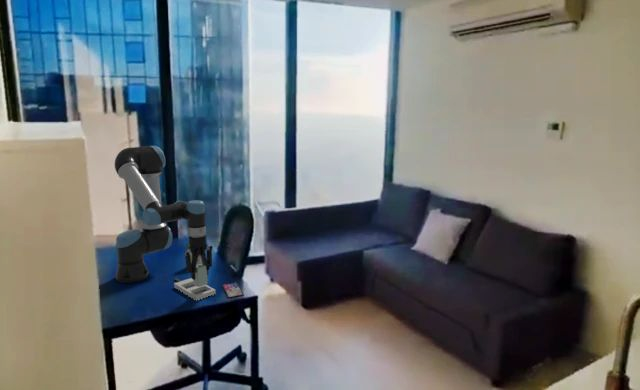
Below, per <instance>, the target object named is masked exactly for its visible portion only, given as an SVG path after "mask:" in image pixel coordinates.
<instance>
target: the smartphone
mask: <svg viewBox="0 0 640 390" xmlns="http://www.w3.org/2000/svg"><path fill="white" fill-rule="evenodd" d="M221 287H222V289H223V291H224V293H225V295H226V298H227V299H232V298H233V299H234V298H237V297H238V298H239V297H243V296H245V295H244V292H243V290H242V289H241V287H240V285H239V283H238V282H231V283H230V282H229V283H225V284H222V285H221Z"/></svg>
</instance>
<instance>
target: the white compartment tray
mask: <svg viewBox="0 0 640 390" xmlns="http://www.w3.org/2000/svg"><path fill="white" fill-rule="evenodd" d="M174 280H175V281H176V282H174V283H173V286H174V288H175V289H176V290H177V289H178V291H179V290H180V291H179V292H181V293H182V292H183V293H182V294H184V295H186V296H187V295H188V296H187V297H189V298H190V297H191V299H192V298H193V299H192V300H193V301H195V300H196V301H195V302H198V301H200V299H201V300H204V299H206V297H207V298H209V297H208V296H210V297H212V296H215V295H216V290H217V289H215V288H213V287H211V286H210V285H208V284H207V285H204V286H201V287H198V286H197V287H196V286H195V285H193V279H192V278H191V277H189V278H188V279H183V280H180V279H179V278H177V277H175V278H174ZM214 294H215V295H214ZM211 295H212V296H211ZM203 298H204V299H203ZM197 300H198V301H197Z"/></svg>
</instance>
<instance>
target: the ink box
mask: <svg viewBox="0 0 640 390" xmlns="http://www.w3.org/2000/svg"><path fill="white" fill-rule="evenodd" d="M189 248H190V244H189V242H186V251H188V250H189ZM190 254H191V255H190V257H191V263H192V253H190ZM198 264H203V263H202V259H201V256H200V255H199V256H198V258H197V265H198Z"/></svg>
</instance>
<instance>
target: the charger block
mask: <svg viewBox="0 0 640 390" xmlns="http://www.w3.org/2000/svg"><path fill="white" fill-rule="evenodd" d="M196 272H197V278H198V287H201V286H204V285H208V283H207V282H208V275H207V274H206V266H205V265H203V263H202V264H198V265H196Z"/></svg>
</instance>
